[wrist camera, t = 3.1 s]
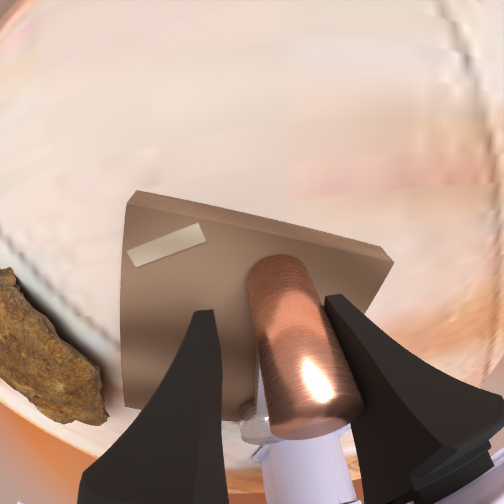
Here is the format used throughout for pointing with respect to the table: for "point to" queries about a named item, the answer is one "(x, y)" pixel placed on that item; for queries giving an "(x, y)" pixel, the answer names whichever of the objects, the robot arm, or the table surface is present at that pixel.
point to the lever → (294, 359)
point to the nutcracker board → (217, 285)
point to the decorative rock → (45, 362)
